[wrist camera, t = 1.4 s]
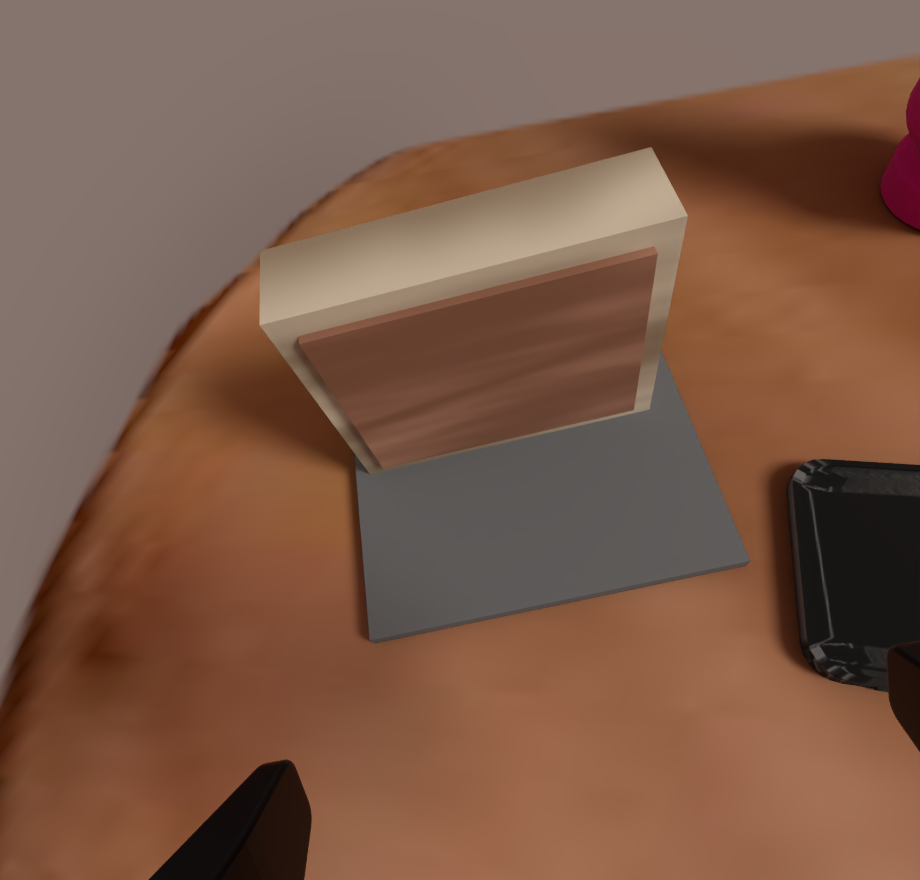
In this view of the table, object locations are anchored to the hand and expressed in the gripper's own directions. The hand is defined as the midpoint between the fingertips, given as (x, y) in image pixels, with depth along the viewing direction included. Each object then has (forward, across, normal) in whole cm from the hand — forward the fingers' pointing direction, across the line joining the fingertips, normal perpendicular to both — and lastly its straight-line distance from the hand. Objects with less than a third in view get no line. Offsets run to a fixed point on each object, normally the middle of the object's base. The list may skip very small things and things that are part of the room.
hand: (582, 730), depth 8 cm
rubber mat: (+21, 0, -2) cm, 21 cm away
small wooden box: (+18, 0, 0) cm, 18 cm away
